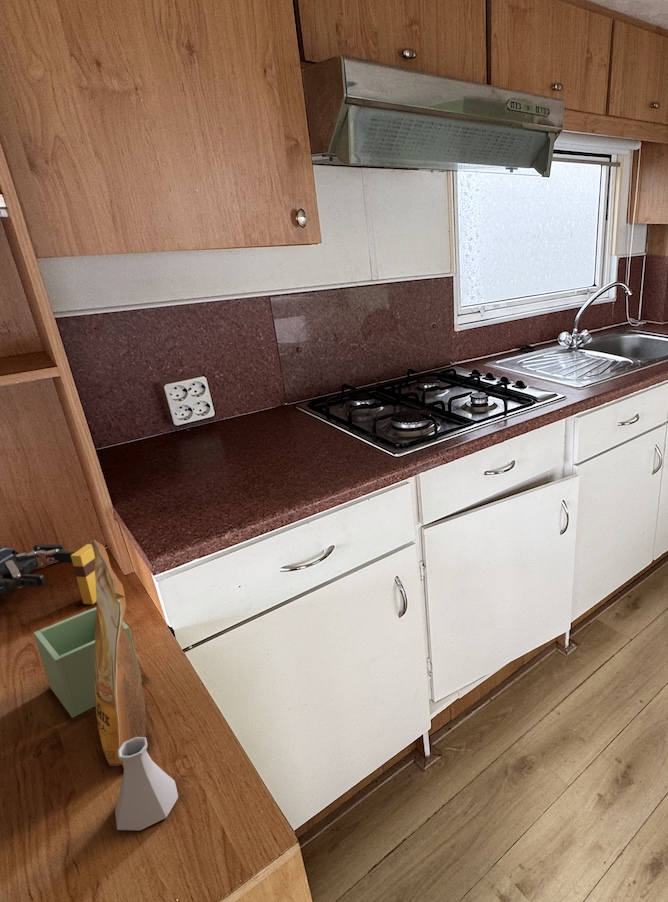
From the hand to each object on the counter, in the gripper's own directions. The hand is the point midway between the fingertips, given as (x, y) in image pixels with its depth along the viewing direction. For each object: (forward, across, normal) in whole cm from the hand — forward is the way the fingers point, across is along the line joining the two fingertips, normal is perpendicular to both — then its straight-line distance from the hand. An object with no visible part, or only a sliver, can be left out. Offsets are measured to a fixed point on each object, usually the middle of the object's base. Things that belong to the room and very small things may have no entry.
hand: (60, 568), depth 115 cm
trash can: (+23, +23, -6) cm, 33 cm away
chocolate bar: (+6, 0, -6) cm, 9 cm away
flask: (+44, +43, -7) cm, 62 cm away
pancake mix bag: (+34, +31, -7) cm, 46 cm away
